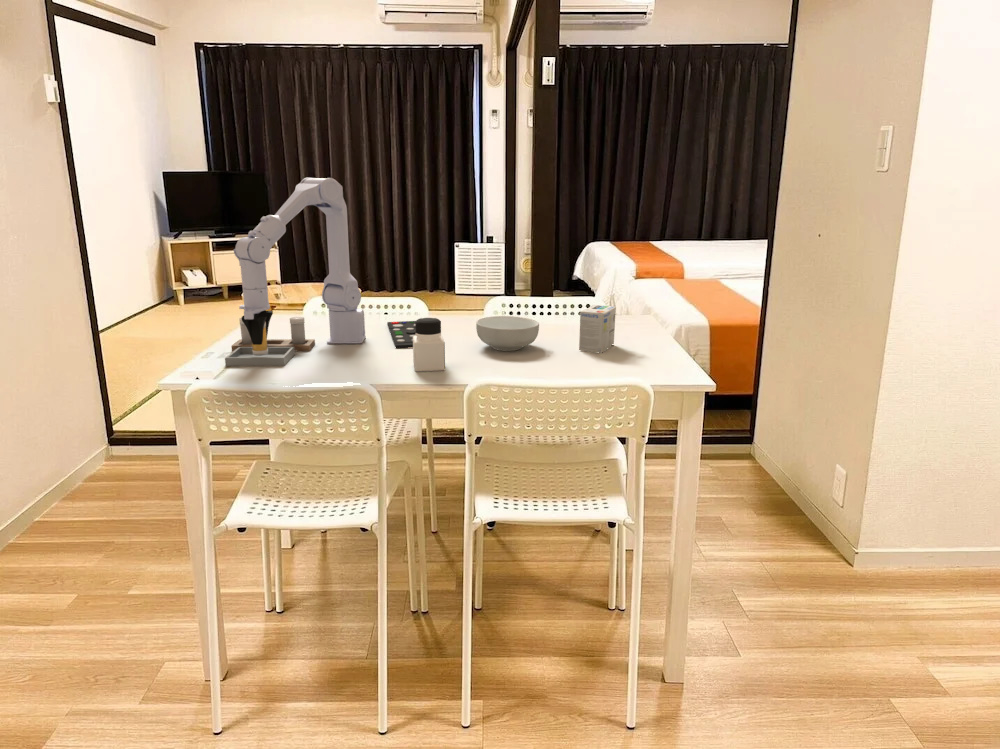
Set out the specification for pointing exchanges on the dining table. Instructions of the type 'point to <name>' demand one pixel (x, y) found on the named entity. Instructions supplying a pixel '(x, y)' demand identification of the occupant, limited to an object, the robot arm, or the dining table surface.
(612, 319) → the light bulb box
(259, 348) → the amber fuse
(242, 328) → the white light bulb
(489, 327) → the cereal bowl
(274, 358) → the tray
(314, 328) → the dining table surface
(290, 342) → the brown wooden rack
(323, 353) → the dining table surface
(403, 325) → the remote control
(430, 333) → the medicine bottle
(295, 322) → the cylinder
